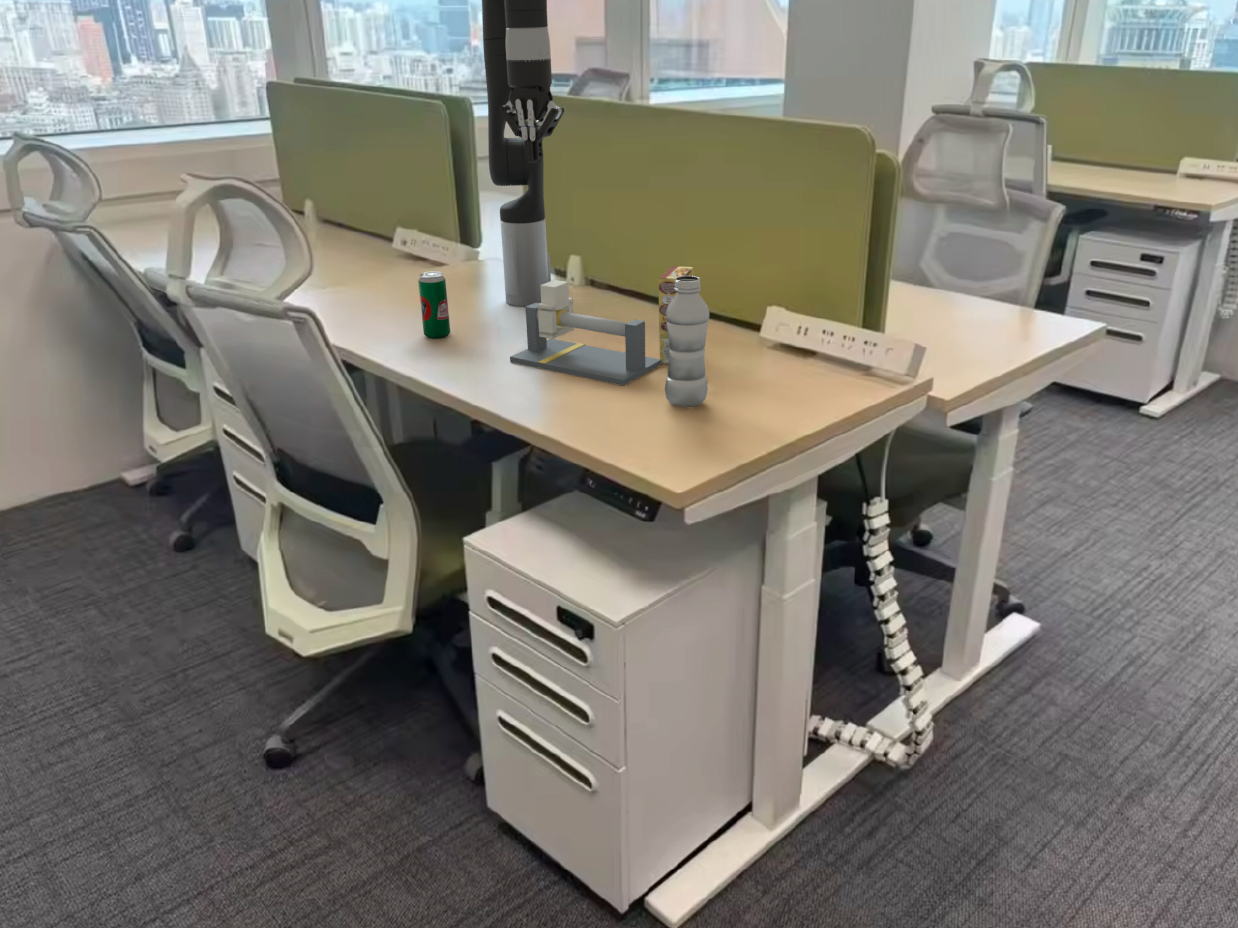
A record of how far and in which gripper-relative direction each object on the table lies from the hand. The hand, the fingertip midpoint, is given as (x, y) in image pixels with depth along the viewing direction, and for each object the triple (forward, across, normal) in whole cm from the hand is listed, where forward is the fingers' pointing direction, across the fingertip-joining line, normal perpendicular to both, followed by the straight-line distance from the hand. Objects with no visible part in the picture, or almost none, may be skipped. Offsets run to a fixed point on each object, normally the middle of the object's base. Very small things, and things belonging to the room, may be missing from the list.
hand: (534, 162), depth 177 cm
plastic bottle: (+32, -41, +17) cm, 55 cm away
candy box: (+32, -28, -2) cm, 43 cm away
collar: (+27, -10, +9) cm, 31 cm away
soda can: (+32, +18, +10) cm, 38 cm away
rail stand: (+32, -16, +9) cm, 37 cm away
